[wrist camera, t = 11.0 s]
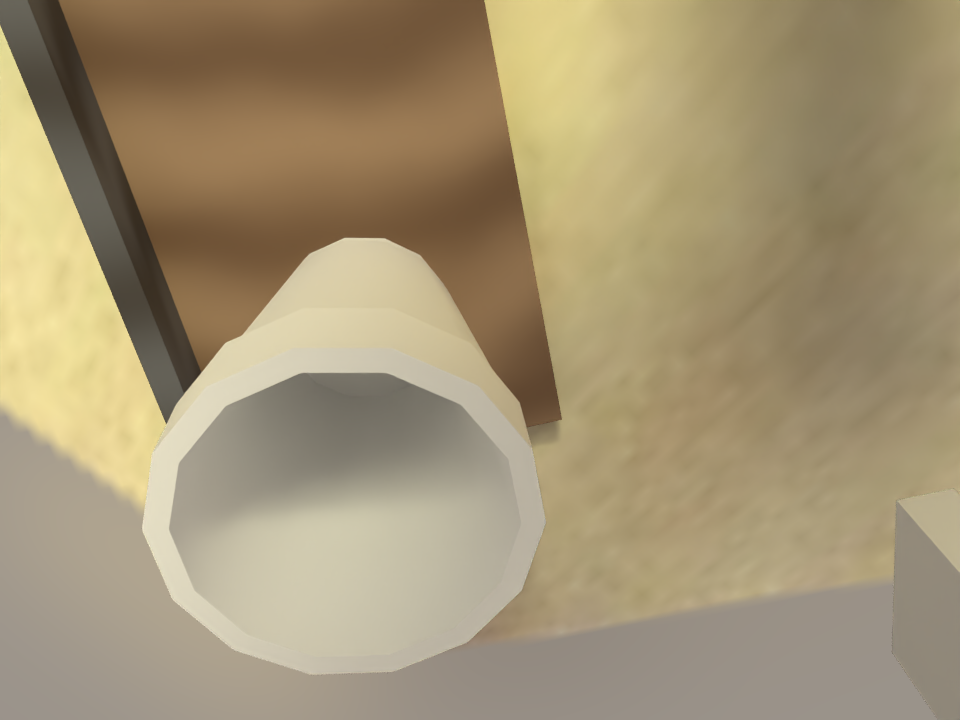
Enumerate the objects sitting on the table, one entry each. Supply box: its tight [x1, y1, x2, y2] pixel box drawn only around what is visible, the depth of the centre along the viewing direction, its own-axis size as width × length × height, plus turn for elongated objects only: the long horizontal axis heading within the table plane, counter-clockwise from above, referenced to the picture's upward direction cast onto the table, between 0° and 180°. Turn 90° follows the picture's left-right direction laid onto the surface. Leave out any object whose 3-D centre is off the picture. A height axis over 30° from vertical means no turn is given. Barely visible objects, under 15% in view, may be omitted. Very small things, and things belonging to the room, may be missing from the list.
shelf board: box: [0, 0, 562, 427], centre depth 30 cm, size 20×14×4 cm
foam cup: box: [142, 238, 546, 675], centre depth 27 cm, size 10×9×13 cm
